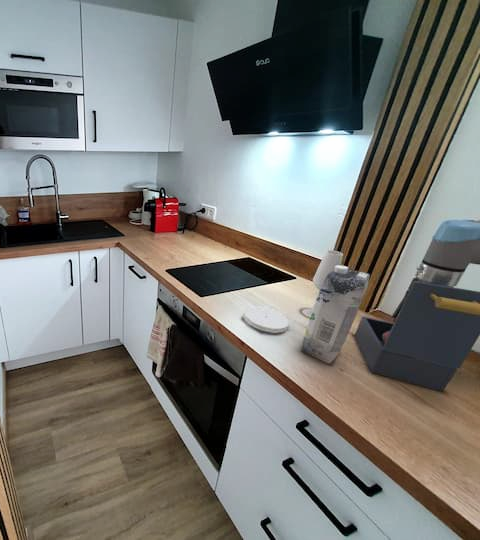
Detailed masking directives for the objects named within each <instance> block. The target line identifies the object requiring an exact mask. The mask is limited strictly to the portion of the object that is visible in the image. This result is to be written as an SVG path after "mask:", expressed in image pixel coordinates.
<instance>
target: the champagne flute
mask: <svg viewBox="0 0 480 540" xmlns="http://www.w3.org/2000/svg"><path fill="white" fill-rule="evenodd" d="M343 257H344V253H343V252H340V251H337V250H333V249H332V250H330V249H327V250H325V252H324V254H323V257H322V259H321V260H320V263H319V265H318V267H317V270H316V272H315V274H314V276H313V278H312V283H313V286H314V287H315V288H316V289H317V294H316V298H315V301H314V303H313V306H312V308H306V309H305V308H304V309H302V311H301V312H302V314H303V315H304V316H305V317H307V318H309V319H310V318H311V315H312V312H313V309H314V306H315V303H316V300H317V298H318V295H319V292H320V289H321V287H322V284H323V282H324V280H325V278H326V277H327V275H328V274H329V273H330V272H332V271H333V269H334V268H335V266H337V265H339V266H341V265H342V260H343Z"/></svg>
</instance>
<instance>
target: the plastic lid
mask: <svg viewBox="0 0 480 540" xmlns="http://www.w3.org/2000/svg"><path fill="white" fill-rule="evenodd" d="M243 319H244V321H245V322H246V323H247V324H248V325H250V326H251V327H253V328H255V329H257V330H259V331H263V332H266V333H274V334H275V333H276V334H280V333H284V332H286V331H287V330H288V328H289V325H290V320H289V319H288V317H287V316H286V315H285V314H284V313H281V312H280V311H278V310H276V309H273V308H270V307H266V306H259V305H252V306H248V307H247V308H245V309H244V311H243Z"/></svg>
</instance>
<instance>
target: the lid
mask: <svg viewBox="0 0 480 540" xmlns="http://www.w3.org/2000/svg"><path fill="white" fill-rule="evenodd" d="M393 323H394V324H393V326H392V329H391V331H390V333H389V335H388V337H387V339H386V342H385V344H384V346H383V348H382V349H383V350H384V351H388V352H393V353H397V354H401V355H405V356H409V357H413V358H417V359H421V360H425V361H429V362H434V363H438V364H442V365H446V366H450V367H454V368H457V370H458V369H460V368H461V367H462V365H464V362H465V360H466V359H467V357H468V356H469V354H470V352H471V350H472V349H473V347H474V346H475V344H476V342H477V341H478V339H479V337H480V291H479V290H478V291H477V290H473V289H472V290H471V289H466V288H460V287H455V286H454V287H448V286H442V285H436V284H430V283H423V282H417V281H413V284H412V286H411V288H410V290H409V292H408V294H407V296H406V299H405V301H404V303H403V305H402V307H401V309H400V311H399V314H398V316H397V318H396V320H395V322H393Z"/></svg>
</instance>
